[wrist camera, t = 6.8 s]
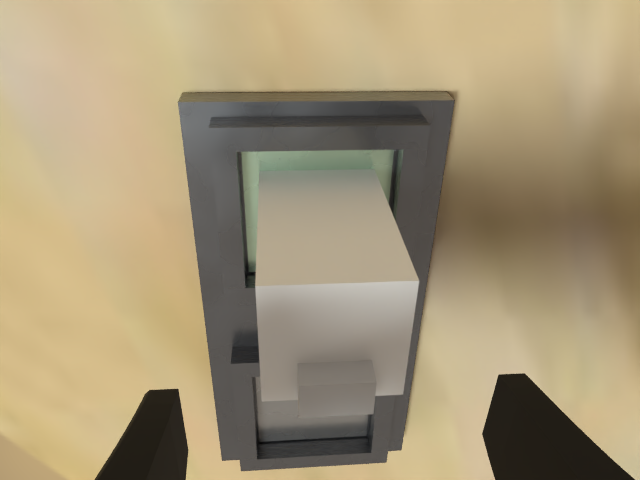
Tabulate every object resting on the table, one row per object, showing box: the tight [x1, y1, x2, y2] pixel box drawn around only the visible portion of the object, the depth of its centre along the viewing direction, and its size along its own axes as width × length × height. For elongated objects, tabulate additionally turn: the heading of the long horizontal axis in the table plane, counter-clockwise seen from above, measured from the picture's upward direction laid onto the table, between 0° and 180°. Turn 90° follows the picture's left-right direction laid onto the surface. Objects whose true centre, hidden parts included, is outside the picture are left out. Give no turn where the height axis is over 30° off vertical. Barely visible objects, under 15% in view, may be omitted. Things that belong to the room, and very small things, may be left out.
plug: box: [255, 169, 419, 418], centre depth 17 cm, size 4×4×7 cm
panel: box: [178, 91, 455, 471], centre depth 22 cm, size 9×18×2 cm, turn 179°
